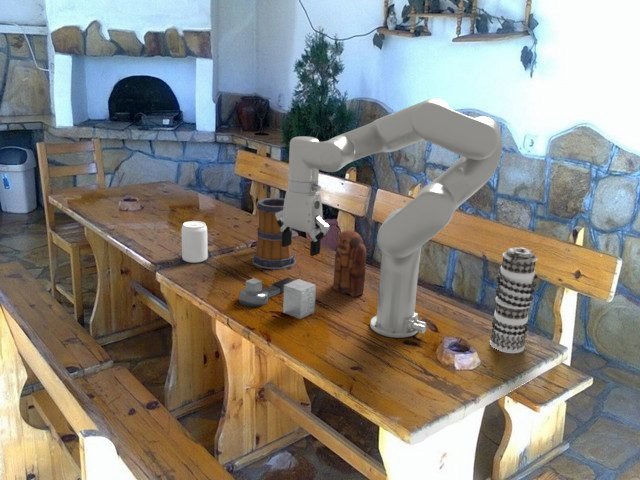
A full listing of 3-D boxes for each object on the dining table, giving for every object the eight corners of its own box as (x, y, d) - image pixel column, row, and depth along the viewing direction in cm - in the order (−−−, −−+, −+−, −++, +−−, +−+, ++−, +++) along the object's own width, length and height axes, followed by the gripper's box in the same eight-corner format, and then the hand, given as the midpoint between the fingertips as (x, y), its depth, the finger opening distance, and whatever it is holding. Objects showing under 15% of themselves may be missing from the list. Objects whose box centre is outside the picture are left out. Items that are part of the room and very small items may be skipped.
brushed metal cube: (314, 312, 176) (315, 284, 173) (300, 319, 171) (301, 291, 169) (297, 306, 179) (298, 278, 177) (283, 312, 175) (283, 284, 172)
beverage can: (179, 256, 213) (178, 221, 209) (203, 254, 216) (203, 219, 212) (185, 265, 206) (184, 228, 202) (210, 262, 209) (210, 226, 205)
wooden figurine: (325, 286, 194) (328, 228, 188) (341, 281, 198) (344, 225, 192) (353, 299, 186) (357, 239, 180) (369, 293, 190) (373, 235, 184)
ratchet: (303, 288, 192) (304, 269, 190) (253, 309, 176) (254, 288, 174) (283, 281, 196) (283, 262, 194) (233, 301, 180) (233, 281, 179)
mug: (241, 252, 220) (241, 194, 214) (280, 247, 226) (282, 191, 220) (260, 271, 203) (261, 209, 197) (303, 266, 209) (305, 206, 203)
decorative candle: (497, 333, 168) (510, 241, 160) (531, 345, 163) (546, 250, 155) (481, 345, 161) (494, 250, 154) (516, 357, 156) (531, 259, 148)
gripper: (339, 190, 162) (335, 254, 168) (287, 178, 172) (285, 239, 178) (320, 195, 157) (317, 261, 162) (267, 182, 167) (266, 245, 172)
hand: (300, 250), depth 170 cm, fingers open, 9 cm apart
